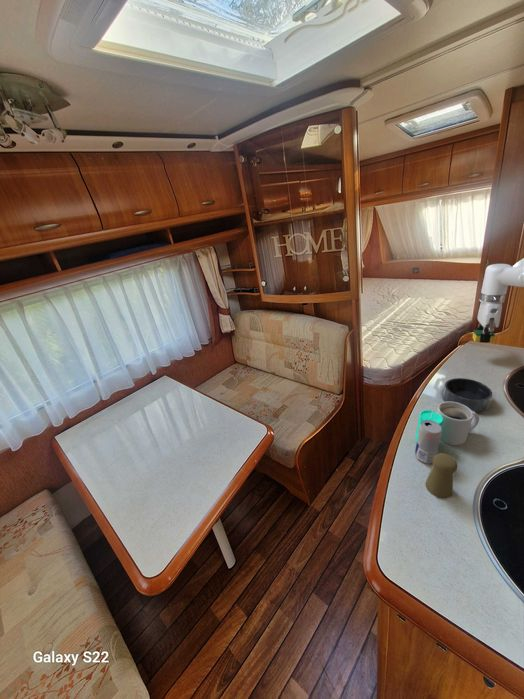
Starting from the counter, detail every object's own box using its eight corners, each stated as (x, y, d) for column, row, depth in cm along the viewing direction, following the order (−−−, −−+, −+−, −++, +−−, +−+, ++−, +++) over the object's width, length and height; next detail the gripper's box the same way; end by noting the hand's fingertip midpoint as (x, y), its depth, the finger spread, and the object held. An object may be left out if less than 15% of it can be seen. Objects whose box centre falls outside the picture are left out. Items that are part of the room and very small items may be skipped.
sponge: (489, 337, 114) (491, 330, 112) (492, 342, 110) (494, 334, 109) (472, 337, 116) (473, 329, 115) (474, 342, 113) (476, 334, 111)
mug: (430, 438, 86) (435, 414, 81) (435, 420, 92) (440, 396, 88) (473, 452, 80) (481, 426, 75) (475, 431, 86) (482, 407, 82)
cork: (422, 476, 75) (428, 448, 70) (447, 478, 74) (454, 449, 69) (429, 497, 70) (436, 468, 65) (456, 499, 68) (465, 470, 63)
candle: (411, 436, 88) (416, 407, 82) (429, 434, 88) (435, 404, 82) (422, 451, 82) (428, 421, 77) (441, 448, 82) (449, 418, 77)
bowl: (481, 392, 102) (485, 380, 99) (494, 416, 91) (498, 403, 88) (439, 388, 107) (441, 376, 104) (446, 410, 96) (449, 398, 93)
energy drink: (426, 447, 83) (432, 417, 78) (439, 461, 78) (447, 430, 73) (410, 451, 83) (415, 422, 77) (423, 466, 78) (429, 435, 72)
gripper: (512, 304, 97) (500, 349, 105) (497, 290, 111) (487, 331, 119) (486, 304, 100) (476, 348, 108) (474, 291, 113) (466, 331, 122)
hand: (482, 339), depth 113 cm, fingers closed on sponge, 4 cm apart
